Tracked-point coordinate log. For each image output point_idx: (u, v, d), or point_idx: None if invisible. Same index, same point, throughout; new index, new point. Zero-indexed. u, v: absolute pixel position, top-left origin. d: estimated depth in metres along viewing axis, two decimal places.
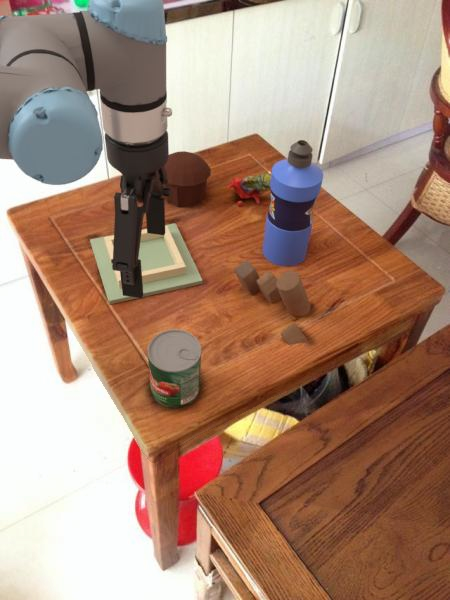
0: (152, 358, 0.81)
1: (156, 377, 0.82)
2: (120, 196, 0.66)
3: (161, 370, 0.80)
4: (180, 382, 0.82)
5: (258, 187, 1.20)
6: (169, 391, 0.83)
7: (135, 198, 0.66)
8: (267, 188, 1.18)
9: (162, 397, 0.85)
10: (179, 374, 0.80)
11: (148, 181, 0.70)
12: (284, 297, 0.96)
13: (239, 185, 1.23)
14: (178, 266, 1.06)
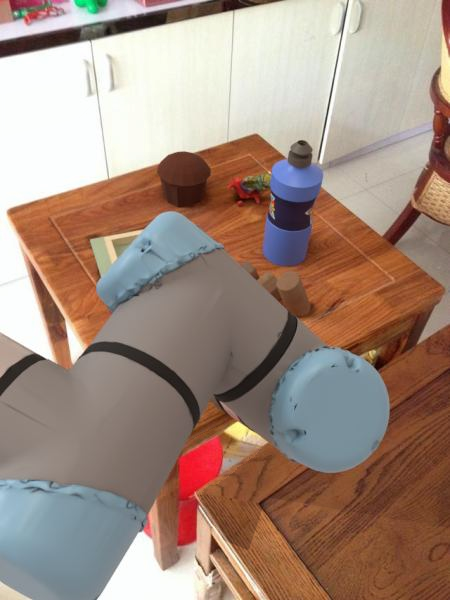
0: None
1: None
2: None
3: None
4: None
5: (258, 187, 1.20)
6: None
7: None
8: (267, 188, 1.18)
9: None
10: None
11: None
12: (284, 297, 0.96)
13: (239, 185, 1.23)
14: None
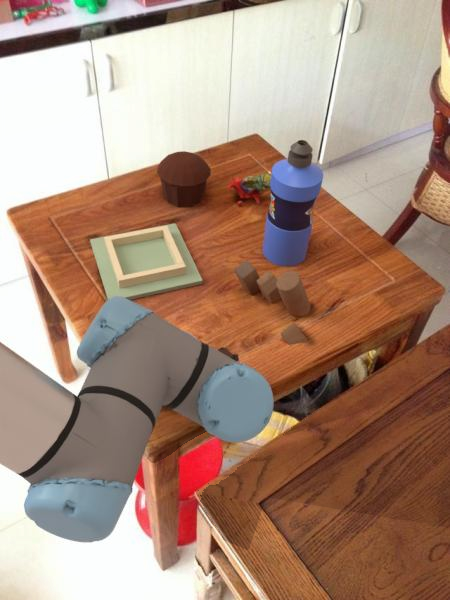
0: None
1: None
2: None
3: None
4: None
5: (258, 187, 1.20)
6: None
7: None
8: (267, 188, 1.18)
9: None
10: None
11: None
12: (284, 297, 0.96)
13: (239, 185, 1.23)
14: (178, 266, 1.06)
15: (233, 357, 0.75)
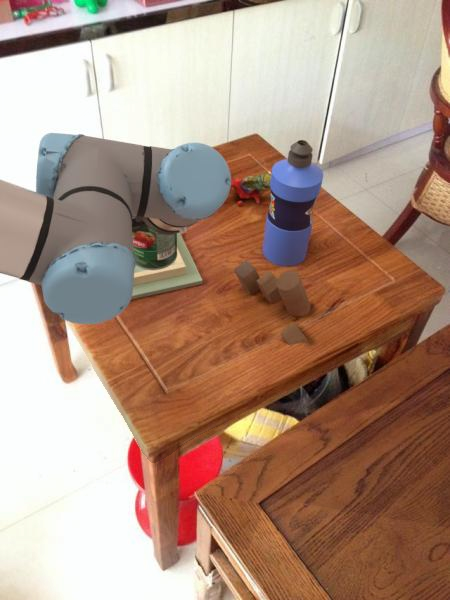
0: None
1: None
2: None
3: None
4: (156, 232, 0.85)
5: (258, 187, 1.20)
6: (146, 242, 0.86)
7: None
8: (267, 188, 1.18)
9: (139, 251, 0.88)
10: None
11: None
12: (284, 297, 0.96)
13: (239, 185, 1.23)
14: (178, 266, 1.06)
15: None
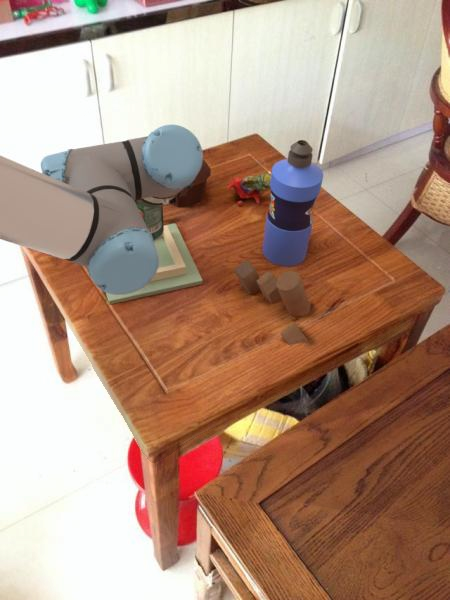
0: None
1: None
2: None
3: None
4: (144, 208, 0.96)
5: (258, 187, 1.20)
6: None
7: None
8: (267, 188, 1.18)
9: None
10: None
11: None
12: (284, 297, 0.96)
13: (239, 185, 1.23)
14: (178, 266, 1.06)
15: None
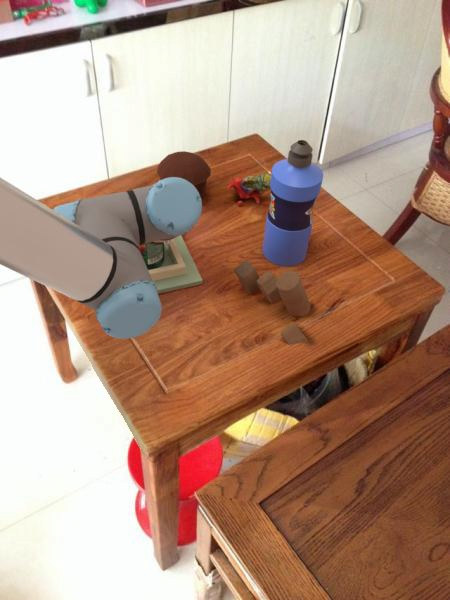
0: None
1: None
2: None
3: None
4: None
5: (258, 187, 1.20)
6: None
7: None
8: (267, 188, 1.18)
9: None
10: None
11: None
12: (284, 297, 0.96)
13: (239, 185, 1.23)
14: (178, 266, 1.06)
15: None
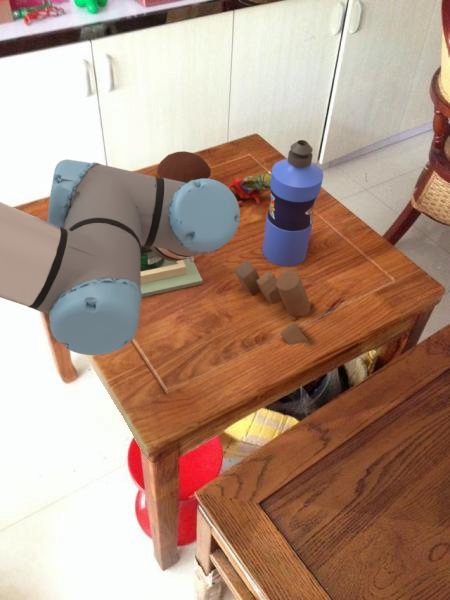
0: None
1: None
2: None
3: None
4: None
5: (258, 187, 1.20)
6: None
7: None
8: (267, 188, 1.18)
9: None
10: None
11: None
12: (284, 297, 0.96)
13: (239, 185, 1.23)
14: (178, 266, 1.06)
15: None
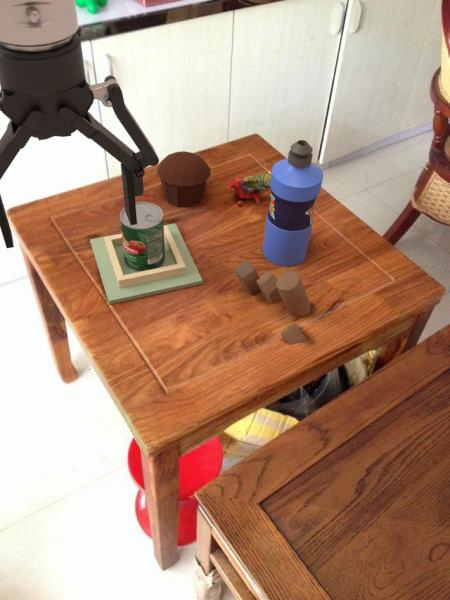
0: (123, 220, 1.01)
1: (127, 237, 1.02)
2: None
3: (130, 228, 1.00)
4: (146, 241, 1.02)
5: (258, 187, 1.20)
6: (138, 250, 1.03)
7: None
8: (267, 188, 1.18)
9: (132, 257, 1.05)
10: (145, 232, 1.00)
11: (32, 110, 0.51)
12: (284, 297, 0.96)
13: (239, 185, 1.23)
14: (178, 266, 1.06)
15: (106, 77, 0.54)
